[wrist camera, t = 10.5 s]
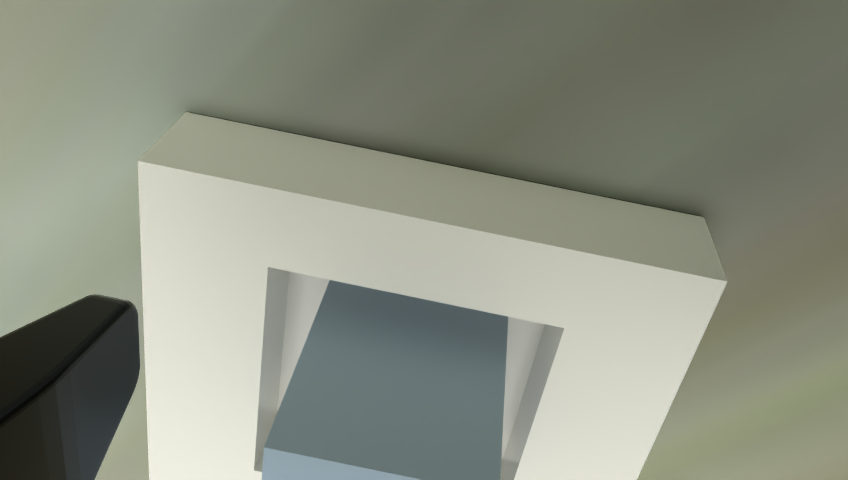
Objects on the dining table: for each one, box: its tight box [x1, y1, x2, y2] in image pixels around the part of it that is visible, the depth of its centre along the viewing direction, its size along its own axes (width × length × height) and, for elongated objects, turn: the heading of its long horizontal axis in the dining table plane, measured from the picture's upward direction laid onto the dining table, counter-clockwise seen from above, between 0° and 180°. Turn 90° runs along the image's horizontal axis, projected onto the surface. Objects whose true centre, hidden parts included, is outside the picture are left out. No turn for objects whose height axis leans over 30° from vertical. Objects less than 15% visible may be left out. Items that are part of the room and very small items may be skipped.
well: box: [138, 112, 728, 480], centre depth 23 cm, size 14×12×3 cm
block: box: [262, 280, 508, 480], centre depth 21 cm, size 5×5×7 cm
